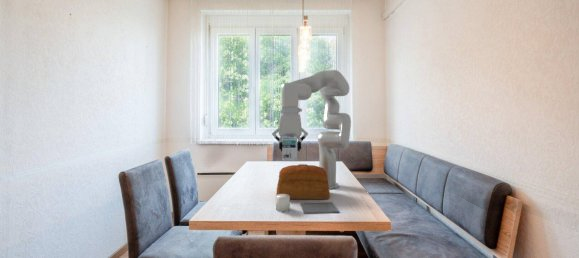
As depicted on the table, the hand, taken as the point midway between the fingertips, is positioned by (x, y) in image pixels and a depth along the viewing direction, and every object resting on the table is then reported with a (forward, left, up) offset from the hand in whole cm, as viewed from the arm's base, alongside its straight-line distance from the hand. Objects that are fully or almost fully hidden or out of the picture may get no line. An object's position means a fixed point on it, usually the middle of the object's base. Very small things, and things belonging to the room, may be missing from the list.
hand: (290, 150), depth 122 cm
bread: (-15, +8, -26) cm, 31 cm away
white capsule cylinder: (+4, -4, -25) cm, 26 cm away
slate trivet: (+4, +12, -25) cm, 28 cm away
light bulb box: (0, 0, -4) cm, 4 cm away
